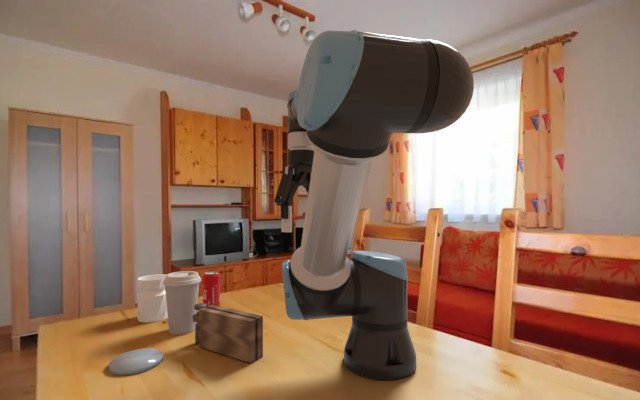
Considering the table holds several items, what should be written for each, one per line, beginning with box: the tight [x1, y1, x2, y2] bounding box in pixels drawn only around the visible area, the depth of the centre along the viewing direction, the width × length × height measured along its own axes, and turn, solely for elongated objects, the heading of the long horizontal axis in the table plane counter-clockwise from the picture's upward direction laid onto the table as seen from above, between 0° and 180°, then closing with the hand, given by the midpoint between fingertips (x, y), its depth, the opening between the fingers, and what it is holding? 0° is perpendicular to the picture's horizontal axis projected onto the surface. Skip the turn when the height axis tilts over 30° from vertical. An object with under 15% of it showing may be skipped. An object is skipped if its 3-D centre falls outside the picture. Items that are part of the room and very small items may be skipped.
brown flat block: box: [194, 302, 264, 360], centre depth 78 cm, size 19×4×9 cm, turn 59°
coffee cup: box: [163, 270, 202, 336], centre depth 90 cm, size 10×10×15 cm
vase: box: [136, 273, 168, 324], centre depth 100 cm, size 9×9×12 cm
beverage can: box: [202, 270, 221, 308], centre depth 106 cm, size 5×5×12 cm
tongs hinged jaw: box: [193, 308, 256, 364], centre depth 76 cm, size 19×2×9 cm, turn 59°
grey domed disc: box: [108, 347, 164, 376], centre depth 71 cm, size 10×10×1 cm
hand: (302, 230), depth 89 cm, fingers open, 13 cm apart
